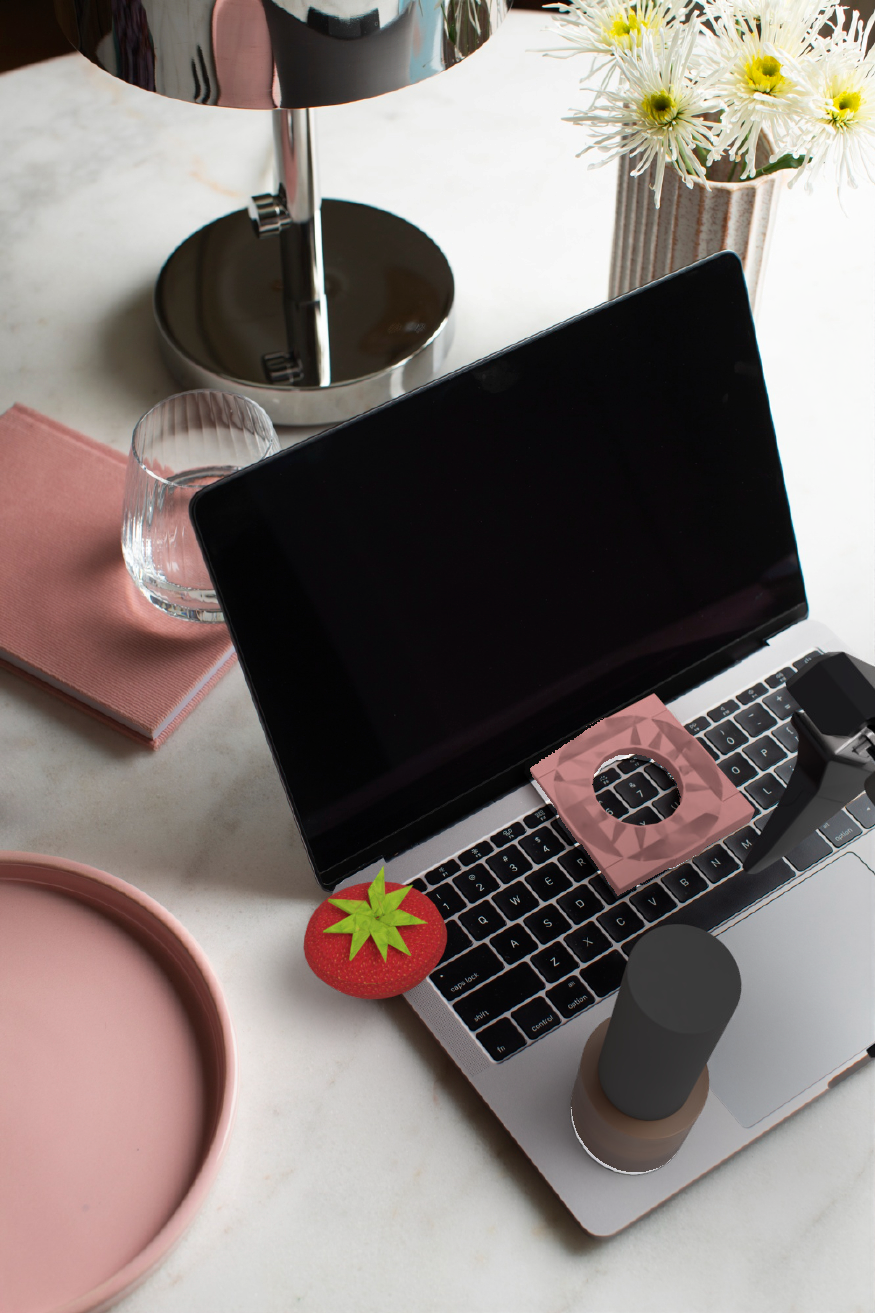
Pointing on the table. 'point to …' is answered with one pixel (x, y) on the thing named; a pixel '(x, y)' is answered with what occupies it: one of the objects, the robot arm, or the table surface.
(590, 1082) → the cylinder
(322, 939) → the strawberry
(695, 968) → the cylindrical post
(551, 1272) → the table surface
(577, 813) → the base pad
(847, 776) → the robot arm
